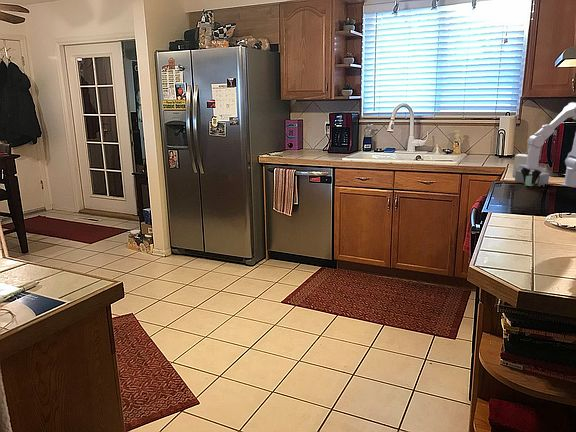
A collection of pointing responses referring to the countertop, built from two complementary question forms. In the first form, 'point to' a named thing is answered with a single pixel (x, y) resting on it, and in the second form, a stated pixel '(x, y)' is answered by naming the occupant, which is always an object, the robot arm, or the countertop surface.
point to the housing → (542, 177)
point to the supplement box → (519, 162)
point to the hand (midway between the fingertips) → (529, 183)
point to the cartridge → (530, 181)
